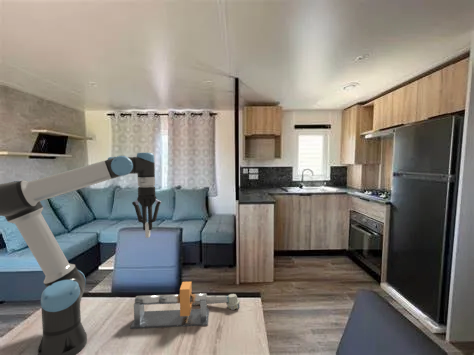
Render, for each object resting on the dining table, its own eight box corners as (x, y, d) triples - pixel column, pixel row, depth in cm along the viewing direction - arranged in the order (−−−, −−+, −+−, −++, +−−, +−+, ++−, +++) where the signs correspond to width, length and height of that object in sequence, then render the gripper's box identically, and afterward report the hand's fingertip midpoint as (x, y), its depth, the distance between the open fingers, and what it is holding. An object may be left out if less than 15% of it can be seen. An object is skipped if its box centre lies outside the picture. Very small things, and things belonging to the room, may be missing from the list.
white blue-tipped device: (189, 293, 126) (239, 290, 122) (191, 306, 127) (241, 303, 123) (186, 299, 121) (237, 295, 117) (188, 312, 121) (239, 309, 117)
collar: (180, 316, 108) (179, 289, 108) (182, 306, 115) (182, 281, 115) (189, 315, 108) (189, 289, 108) (191, 306, 116) (191, 281, 116)
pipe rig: (130, 328, 105) (129, 303, 105) (138, 313, 116) (138, 290, 116) (207, 325, 107) (207, 300, 107) (209, 310, 118) (208, 287, 118)
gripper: (129, 187, 113) (130, 239, 114) (158, 186, 113) (160, 238, 115) (134, 185, 120) (136, 234, 121) (162, 185, 121) (164, 234, 122)
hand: (147, 236), depth 118 cm, fingers closed
